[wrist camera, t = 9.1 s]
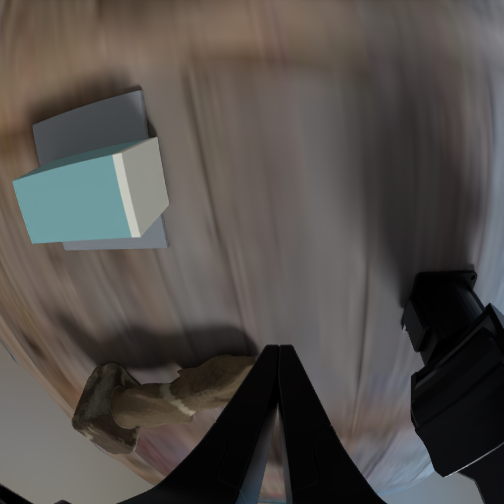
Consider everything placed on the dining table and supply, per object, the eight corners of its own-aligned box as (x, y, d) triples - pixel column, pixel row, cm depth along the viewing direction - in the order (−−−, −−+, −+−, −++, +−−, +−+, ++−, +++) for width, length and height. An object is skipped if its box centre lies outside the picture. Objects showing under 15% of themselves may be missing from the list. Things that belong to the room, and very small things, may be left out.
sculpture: (225, 327, 41) (282, 389, 28) (107, 413, 35) (123, 494, 22) (195, 287, 38) (248, 345, 25) (70, 382, 32) (70, 467, 19)
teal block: (121, 153, 14) (12, 181, 16) (140, 237, 17) (32, 243, 18) (157, 137, 19) (53, 160, 20) (169, 204, 21) (67, 215, 22)
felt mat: (142, 89, 17) (140, 90, 17) (169, 245, 23) (167, 247, 23) (35, 124, 19) (32, 125, 18) (67, 248, 25) (64, 250, 24)
